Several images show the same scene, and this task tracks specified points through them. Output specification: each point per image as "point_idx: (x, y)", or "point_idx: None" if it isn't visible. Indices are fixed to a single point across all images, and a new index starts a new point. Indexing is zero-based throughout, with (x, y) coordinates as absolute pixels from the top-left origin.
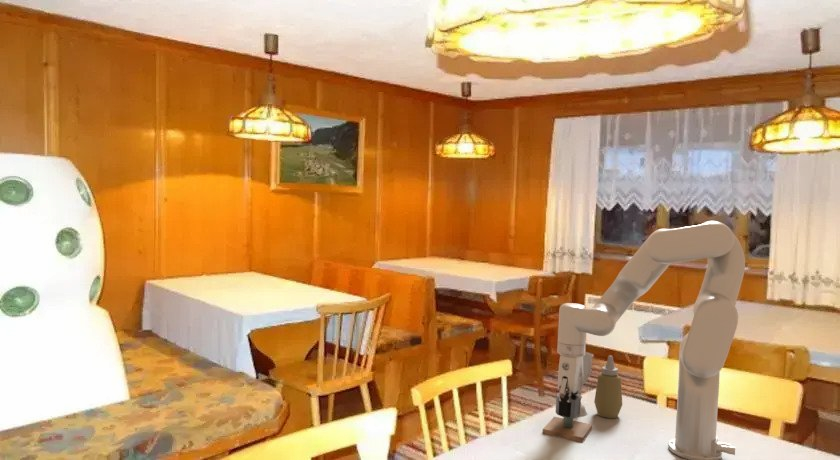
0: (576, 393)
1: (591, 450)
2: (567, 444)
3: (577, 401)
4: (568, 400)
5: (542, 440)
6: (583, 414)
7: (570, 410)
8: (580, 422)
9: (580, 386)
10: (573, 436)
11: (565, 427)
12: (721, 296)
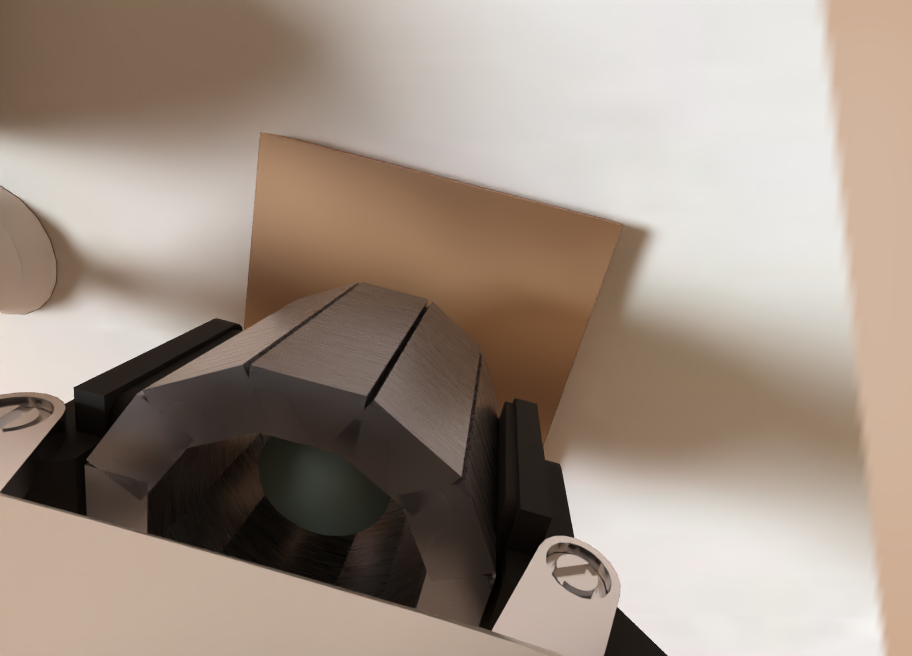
0: (61, 428)
1: (788, 145)
2: (687, 339)
3: (413, 407)
4: (611, 605)
5: (647, 497)
6: (16, 211)
7: (539, 441)
8: (262, 243)
9: (3, 549)
10: (591, 303)
11: None
12: None
